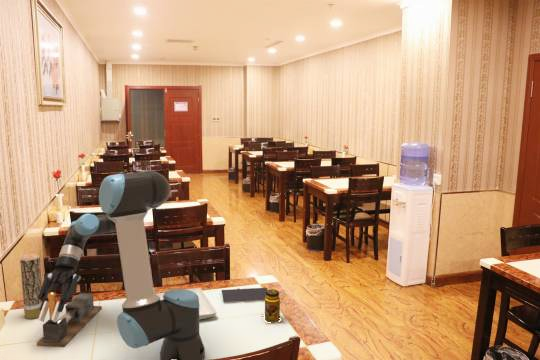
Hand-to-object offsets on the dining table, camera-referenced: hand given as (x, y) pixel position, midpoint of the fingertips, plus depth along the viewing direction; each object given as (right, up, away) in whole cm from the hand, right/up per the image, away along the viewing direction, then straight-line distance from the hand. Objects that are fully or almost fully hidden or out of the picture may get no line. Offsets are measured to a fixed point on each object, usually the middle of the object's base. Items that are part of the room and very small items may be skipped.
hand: (47, 320), depth 155 cm
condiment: (+78, -8, +26) cm, 83 cm away
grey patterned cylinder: (-18, -6, +25) cm, 32 cm away
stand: (+1, -7, +18) cm, 20 cm away
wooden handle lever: (+1, -5, +12) cm, 13 cm away
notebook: (+67, -5, +47) cm, 82 cm away
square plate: (+39, -7, +31) cm, 50 cm away
